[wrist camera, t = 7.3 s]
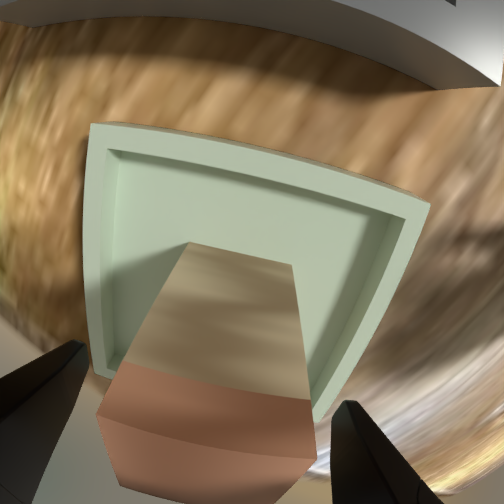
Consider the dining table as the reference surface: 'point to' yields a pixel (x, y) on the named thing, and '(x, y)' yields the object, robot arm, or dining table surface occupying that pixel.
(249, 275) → the plug
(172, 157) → the tray
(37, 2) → the grey cinder block
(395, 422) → the dining table surface
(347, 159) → the dining table surface
